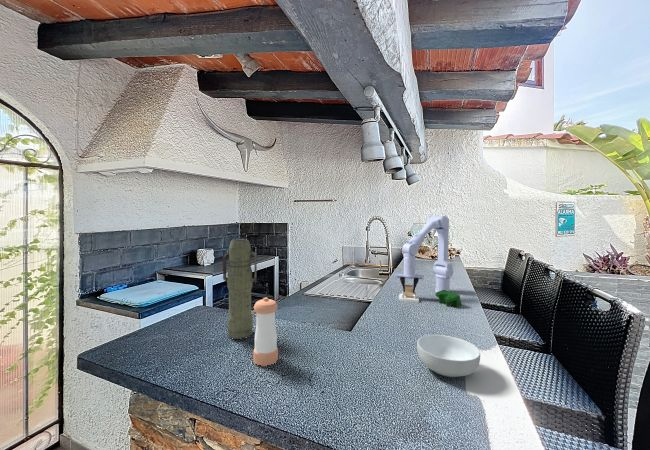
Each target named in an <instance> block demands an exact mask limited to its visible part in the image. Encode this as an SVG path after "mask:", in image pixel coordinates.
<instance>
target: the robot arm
mask: <svg viewBox="0 0 650 450" xmlns="http://www.w3.org/2000/svg"><path fill="white" fill-rule="evenodd" d="M425 221H426V223H425V224H424V226H423V227H422V228H421V229H420V231H419V232H417V233H414V234H413V236H412V238H411V237H410V239H409V241H408V242H406V243H404V244H403V245H402V247H401V252H402V256H403V273H395V274H394V278H395V279H399V281H400V282H401V286H402V289H403V290H402V291H404V293H405V285H406V279H413V294H414V292H416V291H415V290H416V287H417V285H418V283H419V280H425V275H424V274H423V275H422V274H417V273H416V256H417V254H418V252H419V249H420V246H421V245H422V244H423V243H424V242H425V239H426V238H425V237H426V236H427V235H428V234H429V233H430V232H431V231H432V230H433V229H434V230H435V231H436V232H437V234H438V235H437V236H438V237H437V260H436V261H435V262H434V263H433V268H432V273H433V274H434V277H435V288H434V293H435V294H436V292H439V291H442V290H446V291H449V292H451V291H450V282H451V281H450V280H451V278H452V277H453V275H454V269H453V264H452V262H451V261H449V231H450V219H449V218H448V217H447V216H446V215H430V216H428V218H427V219H426V220H425Z"/></svg>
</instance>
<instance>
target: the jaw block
mask: <svg viewBox="0 0 650 450" xmlns="http://www.w3.org/2000/svg"><path fill="white" fill-rule="evenodd" d="M413 286H414V284H412V285H411V284H405V292H404V294H405V296H410V297H413V295H414V293H413Z"/></svg>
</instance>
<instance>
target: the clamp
mask: <svg viewBox="0 0 650 450" xmlns="http://www.w3.org/2000/svg"><path fill="white" fill-rule="evenodd" d="M449 291H450V290H449ZM449 291H446V290H442V291H439V292H436V293H435V297H437V298H438V303H439V304H443V303H445V305H446V307H451V306H454V307H456V308H457V307H460V306H462V300H461V296H460V294H457V293H455V292H452V291H450V292H449Z"/></svg>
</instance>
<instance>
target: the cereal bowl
mask: <svg viewBox="0 0 650 450" xmlns="http://www.w3.org/2000/svg"><path fill="white" fill-rule="evenodd" d="M416 351H417V355H418V357H419V360H420V361H421V362H422V363H423V364H424V366H426V368H428V369H429V370H431V371H433V372H434V373H436V374H438V375H441V376H443V377H448V378H456V377H465V376H469V375H471V374H473V373H474V372H475V371H477V369H478V367H479V366H480V362H481V352H480V349H478V347H477V346H476V345H474V344H473V343H471V342H469V341H467V340H466V339H463V338H459V337H454V336H450V335H443V334H426V335H422V336H421V337H420V338H418V339H417V344H416Z"/></svg>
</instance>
